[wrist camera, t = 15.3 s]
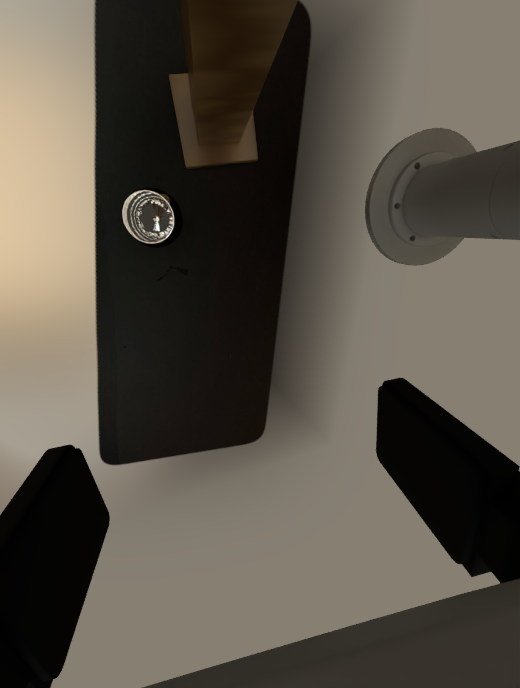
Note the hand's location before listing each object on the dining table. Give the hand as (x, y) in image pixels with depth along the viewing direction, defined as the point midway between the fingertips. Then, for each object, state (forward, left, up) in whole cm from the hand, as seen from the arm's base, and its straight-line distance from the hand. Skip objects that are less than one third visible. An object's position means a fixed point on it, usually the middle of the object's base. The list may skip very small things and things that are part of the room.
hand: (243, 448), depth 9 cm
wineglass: (+5, -8, -36) cm, 38 cm away
